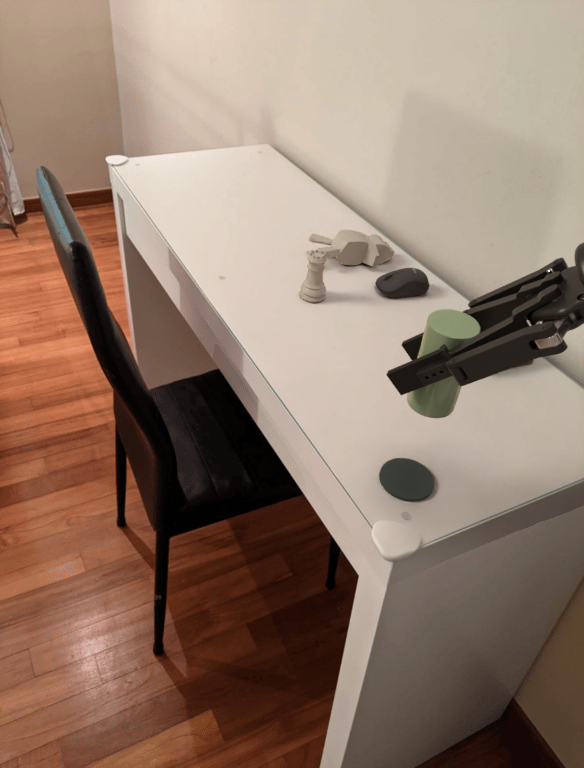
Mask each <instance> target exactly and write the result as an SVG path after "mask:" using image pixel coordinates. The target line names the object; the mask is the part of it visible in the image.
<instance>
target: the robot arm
mask: <svg viewBox="0 0 584 768" xmlns="http://www.w3.org/2000/svg"><path fill="white" fill-rule="evenodd" d="M573 259H574V265H572V266H568V263H567V262H566V260H565V258H564V257H559V258H556V259H554V260H553V261H552V262H549V263H548V264H546V265H545V266H543V267H541V268H539V269H537V270H536V271H533V272H531V273H528V274H526V275H524V276H522V277H520V278H518V279H516V280H513V281H511V282H509V283H506V284H505V285H503V286H500V287H498V288H496V289H494V290H491V291H489V292H487V293H485V294H483V295H481V296H478V297H476V298H474V299H472V300H470V301H469V302H468V304H467V306H468V309H464V310H463V311H462V312H463V313H466V314H468V315H470V316H471V317H473V318H474V319H475V320H476V321H477V322H478V323H479V325H480V329H481V330H480V334H478V335H476V336H474V337H472V338H471V339H469V340H467V341H465V342H463V343H461V344H459V345H458V346H456V347H454V348H452V349H450V350H448V348H447V347H446V345H445V344H443V345H442V346H441V347H440V348H439V350H436V351H434V352H431V353H429V354H427V355H424V356H422V357H420V358H417V356H418V353H419V349H420V345H421V341H422V338H423V334H424V331H423V332H421V333H419V334H416V335H414V336H412V337H409V338H408V339H405V340H403V341H402V342H401V347H402V349H403V350H404V351H405V352H406V354H407V356H408V357H409V358H410V361H407V362H406V363H403V364H400V365H398V366H396V367H394V368H391V369H389V370H387V372H386V377H387V378H388V379H389V381H390V382H391V383H392V385H393V386H394V388H395V389H396V391H397V392H398V394H399V395H400V396H403V395H406V394H408V393H409V392H411V391H414V390H417V389H419V388H422V387H424V386H427V385H430V384H432V383H435V382H437V381H440V380H443V379H445V378H448V377H451V376H453V377H454V378H455V380H456V381H457V383H458V384H459V386H462V387H464V386H467V385H470V384H473V383H475V382H478V381H480V380H483V379H485V378H489V377H491V376H494V375H497V374H499V373H503V372H504V371H508V370H510V369H513V368H516V367H515V366H518V365H521V364H523V363H526V362H529V361H531V360H534V361H535V360H537V359H539V358H545V357H550V356H551V357H552V356H556V355H560V354H562V353H564V352H565V351H567V349H568V347H569V346H568V344H567V343H566V340H565V339H564V337H565V336H566V334H567V333H568V332H570V331H574V330H576V329H577V328H579V327H581V326H582V325H584V241H583V242H581V243H580V244H578V245H577V247H576V248H575V250H574V258H573ZM528 322H529V323H528ZM518 367H519V366H518Z"/></svg>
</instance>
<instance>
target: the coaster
mask: <svg viewBox="0 0 584 768" xmlns="http://www.w3.org/2000/svg"><path fill="white" fill-rule="evenodd" d="M378 475H379V476H378V477H379V482H380V485H381V486H382V487H383V489H384V490H385V492H387V493H388V494H389V495H391V496H392V497H394V498H395V499H398V500H401V501H404V502H419V501H423V500H425V499H427V498H428V497H429V496H430V495H431V494H432V493H433V491H434V488H435V478H434V475H433V473H432V472H431V470H430V469H429V468H428V467H427V466H425V465H424V464H423V463H421V462H419V461H417V460H414V459H413V458H407V457H396V458H392V459H389V460H388V461H386V462H384V463H383V464H382V466H381V468H380V470H379V474H378Z"/></svg>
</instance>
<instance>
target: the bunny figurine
mask: <svg viewBox="0 0 584 768" xmlns="http://www.w3.org/2000/svg"><path fill="white" fill-rule="evenodd" d="M308 241H309V242H310V243H314V244H319V245H325V246H324V247H318V248H317V249H318V252H320V251H321V250H322V251H324V253H325V254H326V255H325V256H326V258H327V260H329V259H332V258H336V259H337V260H338V261H339V262H340V264H341V265H343V266H345V265H346V266H359V265H360V264H365V265H368V266H370V267H377V266H378V265H379V266H380V265H382V264H384V263H386V262H387V261H388V260H392V259H393V258H394V254H395V250H394V249H393V248H392V247H391V245H390V244H389V243H388V241H385V240H383V238H382V237H381V235H378V234H370V235H367V234H365V233H363V232H360V231H357V230H353V229H340V230H339V231H338V232H337V234H336V235H335V236H334V237H333V238H330V237H327V236H324V235H320V234H317V233H311V234H310V235H309V237H308Z"/></svg>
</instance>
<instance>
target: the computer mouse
mask: <svg viewBox="0 0 584 768" xmlns="http://www.w3.org/2000/svg"><path fill="white" fill-rule="evenodd" d="M374 284H375V287H376V289H377V290H378V292H380V294H381V295H383V296H385V297H387V298H391V299H398V298H405V297H416V296H420V295H424V294H426V293H427V292H428V291H429V288H430V281H429V278H428V276H427V274H426V273H425V272H424V271H423V270H421V269H419V268H415V267H404V268H398V269H397V270H396V269H395V270H393V271H389V272H386V273H384V274H382V275H380V276H378V278H376V280H375V283H374Z"/></svg>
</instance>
